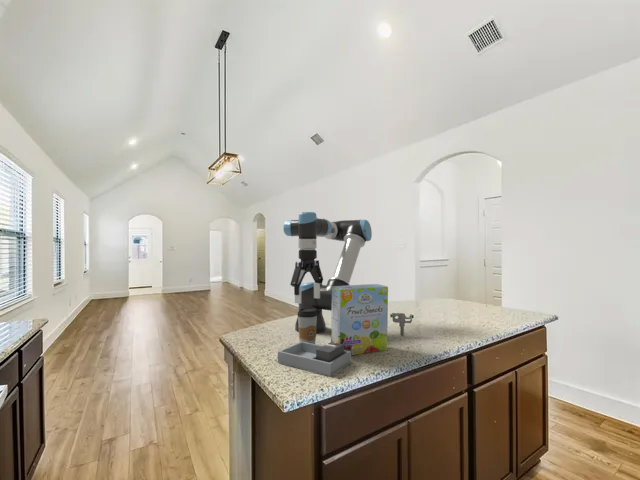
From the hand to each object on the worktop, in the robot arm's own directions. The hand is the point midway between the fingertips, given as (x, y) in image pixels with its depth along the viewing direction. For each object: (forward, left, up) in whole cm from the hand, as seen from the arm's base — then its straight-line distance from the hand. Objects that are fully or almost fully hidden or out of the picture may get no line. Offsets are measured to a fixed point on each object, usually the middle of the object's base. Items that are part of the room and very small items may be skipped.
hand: (307, 300), depth 134 cm
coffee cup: (0, 0, -19) cm, 19 cm away
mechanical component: (+28, +35, -19) cm, 48 cm away
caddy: (+13, -14, -19) cm, 27 cm away
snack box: (+21, +6, -19) cm, 29 cm away
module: (+20, -14, -19) cm, 31 cm away
